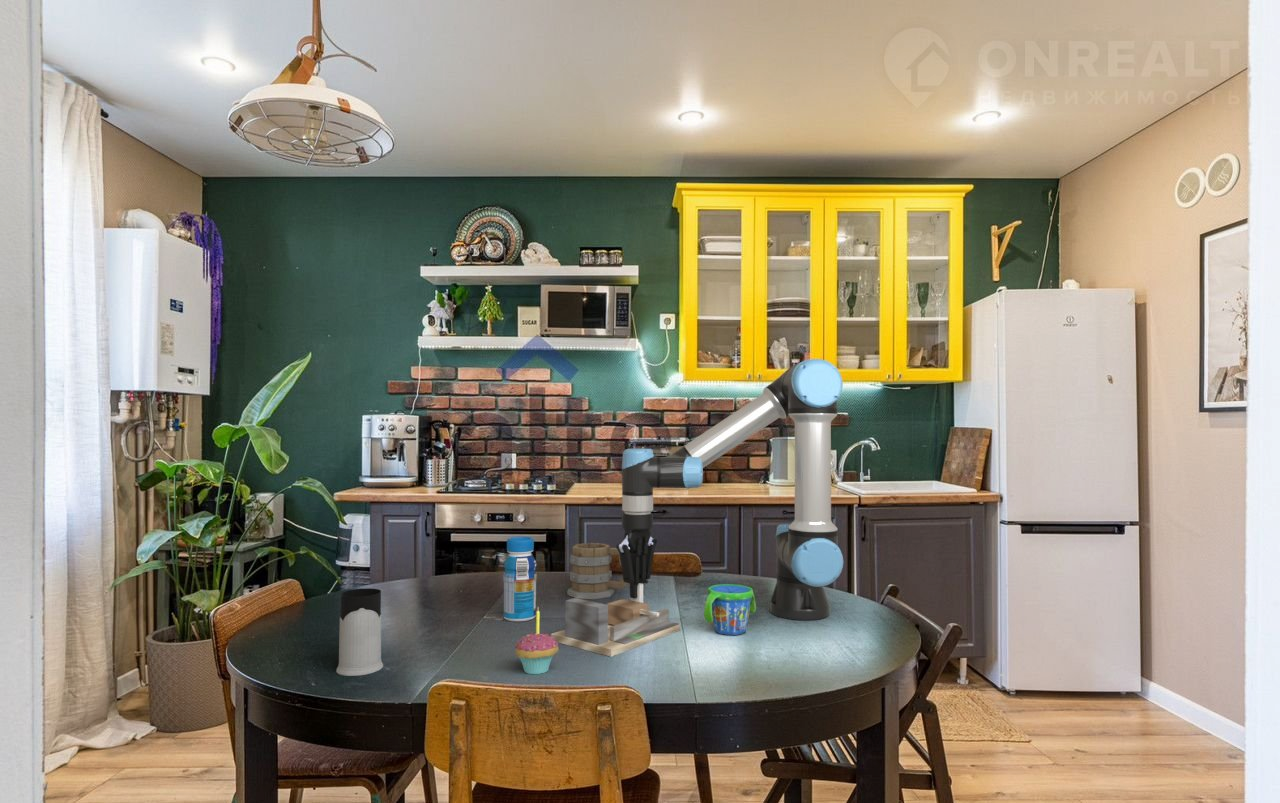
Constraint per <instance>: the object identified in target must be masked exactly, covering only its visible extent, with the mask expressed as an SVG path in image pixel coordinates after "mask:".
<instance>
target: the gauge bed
mask: <svg viewBox="0 0 1280 803" xmlns="http://www.w3.org/2000/svg"><path fill="white" fill-rule="evenodd" d="M564 605H565V606H564V608H565V610H564V611H565V612H564V613H565V615H564V623H565V625H564V627H565V628H564V629H563V630H559V631H556V632H553V633H550V636H552V637H553V638H555V640H556V641H557V643H558V644H563V645H564V646H565V645H566V646H570V647H573V648H577V649H581V650H584V651H587V652H592V653H596V654H600V655H604V656H608V657H610V658H612V657H614V656H617V655H620V654H621V653H625V652H627V651H629V650H633V649H635V648H637V647H640V646H643V645H646V644H648V643H651V642H653V641H655V640H658V639H661V638H664V637H666V636H668V635H671V634H674V633H676V632H679V631H681V624H680V623H677V622H674V621H670V620H669V618H670V617H669V616H670V612H669V609H667V608H663V609H660V610H657V611H655V612H658V613H659V616H658V617H655V616H650V615H644V616H641V617H638V618H635V619H632V620H629V621H626V622H623V623H620V624H617V625H612V624H608V605H607V603H606V604H605V603H600V602H596V601H592V600H588V599H577V598H573V597H572V598H569V599H566V600H565V604H564Z"/></svg>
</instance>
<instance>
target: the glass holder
mask: <svg viewBox="0 0 1280 803" xmlns="http://www.w3.org/2000/svg"><path fill="white" fill-rule="evenodd" d="M381 605H382V591H381V590H380V589H379V588H371V587H370V588H366V587H365V588H364V587H363V588H355V589H349V590H347V591H343V592H341V594H340V616H339V630H338V631H339V634H338V635H339V640H338V642H339V643H338V647H339V648H338V664H337V665H338V666H337V667H336V671H335V672H336V673H337V674H338V675H340V676H347V677H351V676H352V677H353V676H354V677H355V676H364V675H369V674H373V673H375V672H378V671H380V670H382V669H383V668H384V663H383V662H382V618H383V615H382V606H381Z"/></svg>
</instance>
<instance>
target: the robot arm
mask: <svg viewBox="0 0 1280 803" xmlns="http://www.w3.org/2000/svg"><path fill="white" fill-rule="evenodd" d="M843 385H844V383H843V377H842V375H841V373H840V371H839V370H838V368H837V367H836V366H835V365H834V364H832V363H831V362H830V361H828V360H825V359H820V358H812V359H811V358H810V359H805V360H802V361H801V362H799V363H797V364H794V365H792V366H790V367H789V368H787V370H785V371H784V372H783V373H782V374H781V375H780V376H779V377H778V378H776V379H775V380H774V381H772V382H771V383H770V384H769V385H767V386H765V387H764V388H763V391H762V393H761V394H760V395H759V396H757V397H756V398H754V399H753V400H751V401H750V402H748V403H747V404H746V405H744V406H741V407H740V409H737V410H736V411H734V412H733V413H731V414H730V415H729V416H727V417H726V418H724V419H723V420H721V421H719V422H718V423H716V424H715V425H714V426H712V427H711V428H709V429H707V430H706V431H705V432H703V433H702V434H700V435H698V436H697V437H695V438H693V440H691V441H689V442H688V443H686V444H685V445H683V446H682V447H681V448H679V449H678V450H677V449H676V451H675V452H674V451H673V453H672V454H668V455H667V456H662V457H661V456H655V455H654V450H653V449H652V448H627V449H625V450H623V452H622V461H621V462H622V464H621V466H622V467H621V488H622V490H621V493H622V495H621V496H622V497H621V499H622V500H621V502H622V505H621V510H622V511H623V513H622V515H621V528H622V529H623V531H624V535H623V540H622V542H621V543H617V544H616V548H617V549H618V552H619V555H620V561H621V567H622V569H621V573H622V578H623V580H624V582H626V583H627V584H629V597H630V600H631V601H636V602H641V603H644V595H645V584H648V583H649V580H650V579H651V577H652V576H651V574H652V568H653V562H654V555H655V548H656V546H657V543H658V539H657V538H653V537H652V535H651V530H652V529H653V527H654V515H653V513H652V512H653V511H654V490H653V489H655V488H656V489H657V488H658V489H660V488H662V489H663V488H665V489H668V488H669V489H673V488H674V489H687V490H689V489H696V488H697V489H698V488H700V487H702V484H703V478H704V472H703V471H704V470H703V469H704V468H705V467H707V466H708V465H709V464H711V463H712V462H714V461H716V460H718V459H719V458H721V457H722V456H723V455H725V454H726V453H729V451H731V450H733V448H736V447H737V446H739V445H740V444H742V443H743V442H745V441H747V440H748V439H750V438H751V437H752V436H753V435H755V434H757V433H758V432H760V431H761V430H763V429H764V428H766V427H767V426H768V425H771V424H772V423H773V422H775V421H776V420H778V419H784V420H785V419H786V418H788V417H790V418H791V419H792V420H793V422H794V520H793V521H792V522H791V523H789V524H788V523H787V524H783V523H782V524H779V525H777V526H776V532H775V540H776V542H775V544H776V548H775V550H776V551H775V552H776V554H775V555H776V557H775V558H776V562H775V563H776V582H775V585H774V589H773V592H772V596H771V599H770V602H769V612H770V613H771V614H772V615H774V616H777V617H780V618H784V619H789V620H798V621H809V620H811V621H813V620H821V619H826V618H828V617H829V616H830V603H829V601H828V598H827V594H826V591H825V589H824V588H825V586H829V585H831V584H832V583H833V582H835V581H836V580H837V579H838V578H839V577H840V575H841V573H842V571H843V568H844V557H843V553H842V551H841V549H840V547H839V546H838V544H839V543H838V542H839V541H838V537H839V536H838V534H839V532H838V527H837V526H836V525H835V523H833V521H832V457H831V456H832V445H831V444H832V437H831V436H832V430H831V428H832V426H831V425H832V421H833V420H834V419H835V418H836V417H837V416H838V400H839V398H840V396H841V393H842V392H843ZM621 567H620V568H621Z"/></svg>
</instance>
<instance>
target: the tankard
mask: <svg viewBox="0 0 1280 803" xmlns="http://www.w3.org/2000/svg"><path fill="white" fill-rule="evenodd" d="M571 550H572V553H571V554H570V556H569V564H571V565H572V567H571V569H572V570H571V571H570V572H569V580H570V581H571V586H570V587H569V588H568V589H567V590H566V593H567V596H568V595H569V596H568V597H571V598H573V597H574V598H577V599H582V600H590V599H591V600H590V601H592V600H594V601H595V600H600V599H607V598H610V597H611V596H613V595H614V593H615V589H616V590H617V589H624V588H626V587H627V585H628V583H626V582H624V580H623V577H622V578H621V580H618V581H617V580H612V577H613V576H612V574H613V573H612V569H611V568H610V564H611V563H612V561H613V560H612V559H613V558H612V557H613V555H618V563H619V567H620V569H621V570H622V567H621V561H620V555H619V552H618V549H617V547H610V545H609V544H606V543H599V542H596V543H595V542H589V543H588V542H585V543H577V544H575V545H573V546H572V549H571Z"/></svg>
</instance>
